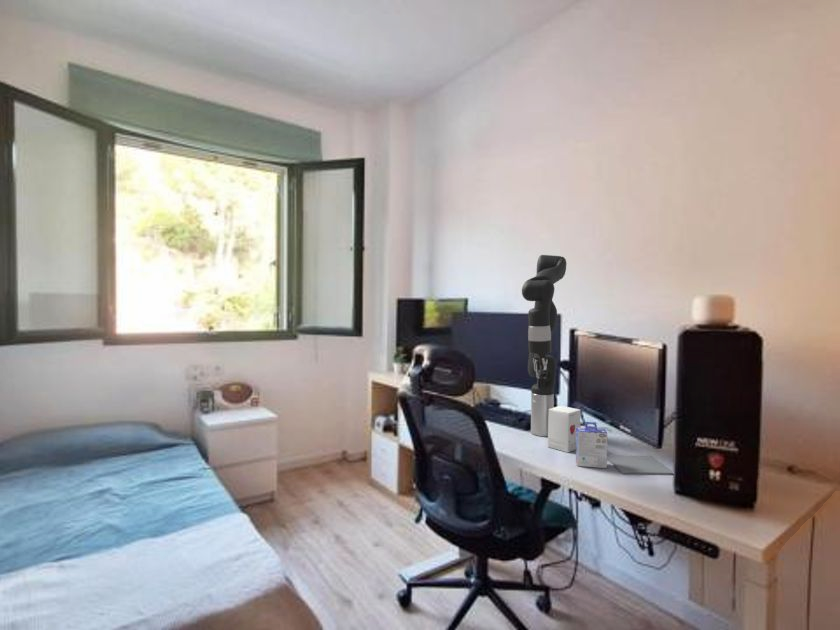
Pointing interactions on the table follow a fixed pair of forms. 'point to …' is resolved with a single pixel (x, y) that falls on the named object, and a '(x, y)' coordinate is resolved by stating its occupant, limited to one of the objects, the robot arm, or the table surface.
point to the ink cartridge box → (591, 446)
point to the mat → (638, 464)
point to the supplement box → (563, 428)
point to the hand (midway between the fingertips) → (541, 388)
